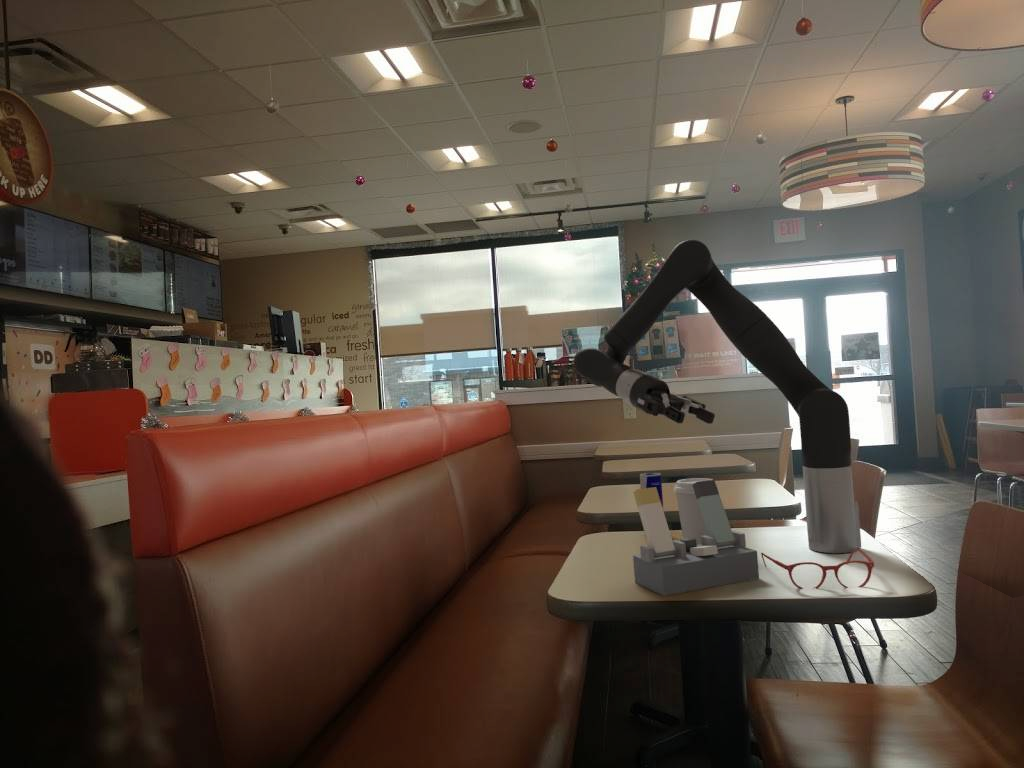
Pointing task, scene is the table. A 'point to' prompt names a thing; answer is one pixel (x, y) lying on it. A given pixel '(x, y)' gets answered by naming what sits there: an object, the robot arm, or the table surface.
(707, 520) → the teal lever
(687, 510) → the coffee cup
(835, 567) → the red eyeglasses
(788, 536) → the table surface
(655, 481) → the beverage can
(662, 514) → the white and yellow lever
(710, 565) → the console
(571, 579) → the table surface
